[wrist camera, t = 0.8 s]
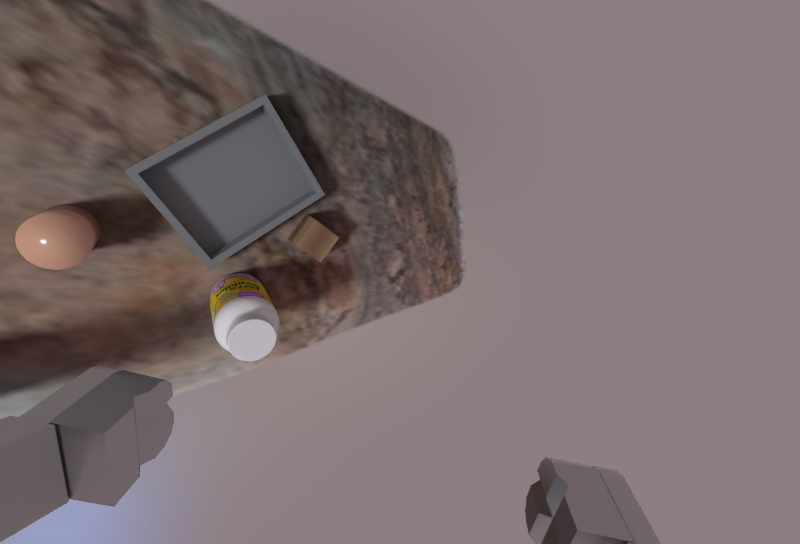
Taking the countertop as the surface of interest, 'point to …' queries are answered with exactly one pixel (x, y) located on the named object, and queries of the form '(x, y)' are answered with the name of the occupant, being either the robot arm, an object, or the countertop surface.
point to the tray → (229, 181)
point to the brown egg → (58, 237)
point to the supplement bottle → (243, 317)
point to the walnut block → (313, 238)
